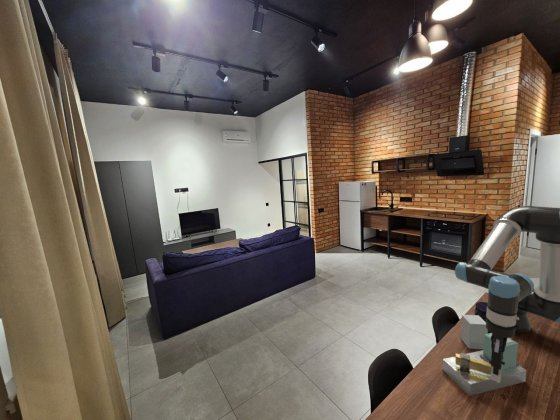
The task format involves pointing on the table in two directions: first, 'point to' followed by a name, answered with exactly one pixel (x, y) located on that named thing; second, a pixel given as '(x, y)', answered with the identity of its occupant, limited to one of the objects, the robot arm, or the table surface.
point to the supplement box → (473, 331)
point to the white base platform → (482, 375)
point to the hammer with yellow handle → (472, 364)
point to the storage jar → (481, 310)
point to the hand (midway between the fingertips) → (495, 379)
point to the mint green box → (508, 354)
